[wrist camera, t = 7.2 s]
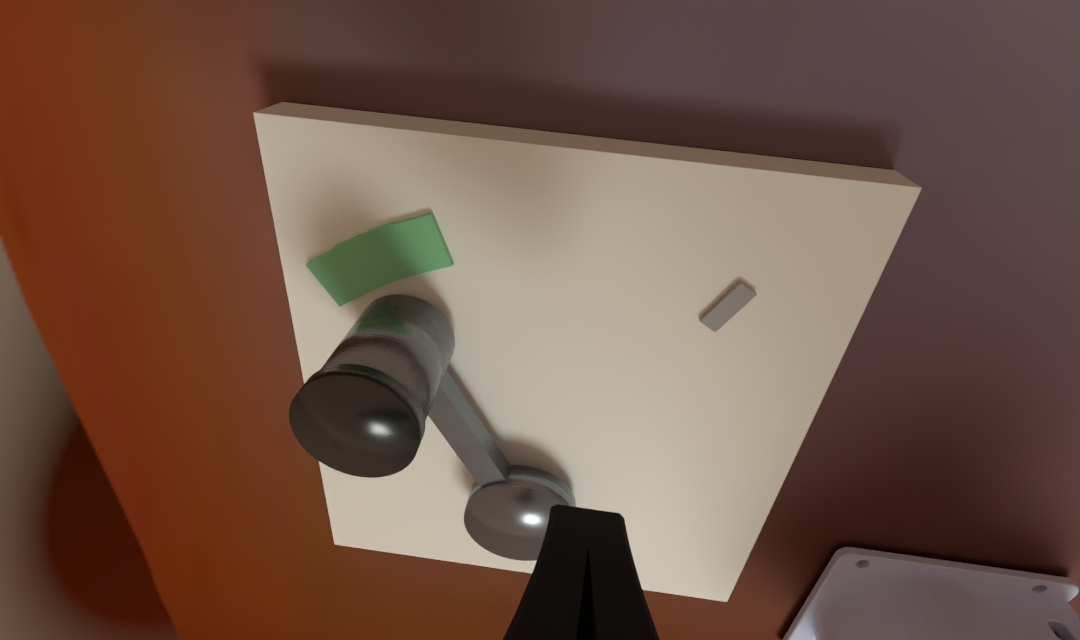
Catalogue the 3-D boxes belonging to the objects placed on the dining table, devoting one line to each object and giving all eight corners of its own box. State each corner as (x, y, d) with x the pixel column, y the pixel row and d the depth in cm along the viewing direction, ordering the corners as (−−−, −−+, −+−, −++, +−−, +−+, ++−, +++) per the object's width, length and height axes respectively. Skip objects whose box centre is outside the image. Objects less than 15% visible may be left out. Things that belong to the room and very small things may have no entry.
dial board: (894, 170, 15) (926, 190, 13) (720, 569, 24) (728, 606, 23) (282, 101, 15) (249, 114, 14) (348, 515, 25) (332, 548, 24)
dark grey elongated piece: (592, 525, 21) (589, 639, 17) (500, 546, 22) (479, 655, 18) (434, 271, 15) (383, 356, 12) (325, 316, 17) (249, 406, 13)
